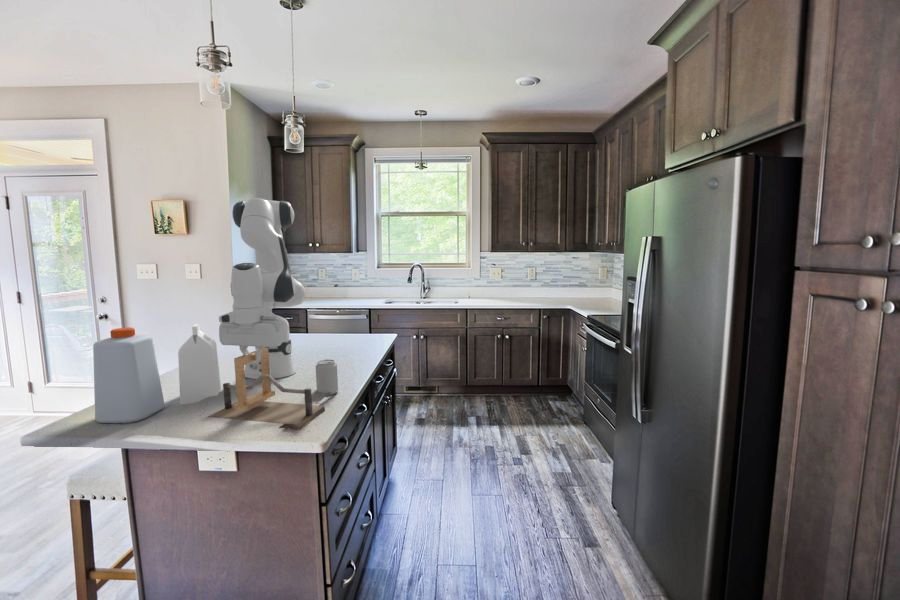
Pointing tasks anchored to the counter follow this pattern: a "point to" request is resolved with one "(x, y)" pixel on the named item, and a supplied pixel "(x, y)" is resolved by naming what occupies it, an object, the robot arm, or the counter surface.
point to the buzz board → (272, 408)
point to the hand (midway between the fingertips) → (252, 359)
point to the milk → (198, 368)
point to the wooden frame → (241, 385)
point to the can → (327, 376)
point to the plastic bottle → (126, 378)
